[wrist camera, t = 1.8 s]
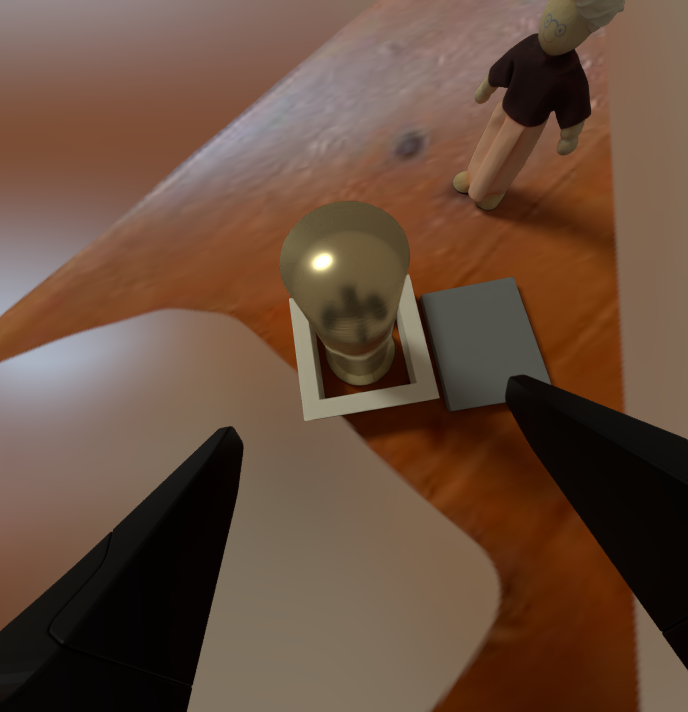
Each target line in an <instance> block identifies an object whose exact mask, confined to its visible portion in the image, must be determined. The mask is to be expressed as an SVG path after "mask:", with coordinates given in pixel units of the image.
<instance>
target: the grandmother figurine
mask: <svg viewBox="0 0 688 712" xmlns="http://www.w3.org/2000/svg"><path fill="white" fill-rule="evenodd" d="M624 3H625V1H624V0H549V2H548V4H547V6H546V8H545V10H544V12H543V15H542V18H541V21H540V26H539V34H533V35H531V36H529V37H527V38H525V39H524V40H522V41H521V42H519V43H518V44H517V45H515V46H514V47H513V48H511V49H510V50H509V51H508V52H507V53H505V54H504V55H503V56H502V57H501V58H500V59H499V60H498V61H497V62H496V63H495V64H494V65H493V66H492V67H491V69H490V71H489V73H488V75H487V76H486V77H485V79H484V81H483V83H482V85H480V86H479V87H478V89H477V90H476V93H475V101H476V102H477V103H479V104H482V103H485V102H486V101H487V100H488V99H489V98H490V96H491V94H492V93H494V92H495V90H496V89H497V88H498V87H504V88H508V89H507V91H506V94H505V96H504V97H503V99H502V100H501V101H500V102H499V103H498V105H497V106H496V108H495V110H494V112H493V114H492V116H491V118H490V121H489V123H488V125H487V127H486V129H485V132H484V134H483V136H482V138H481V140H480V143H479V145H478V147H477V148H476V151H475V153H474V155H473V157H472V159H471V162H470V164H469V167H468V170H467V171H463V172H461V173H459V174H458V175H457V176H456V177H455V178H454V180H453V186H454V187H455V189H456V190H457V191H459V192H462V193H467V192H468V193H469V195H470V197H471V198H472V199H473V200H474V201H475V202H476V204H477V205H478V206H479V207H481V208H482V209H485V210H491V209H494V208H495V207H496V206H497V205H498V204H499V203H500V201H501V200H502V198H503V197H504V195H505V193H506V190H507V189H508V187H509V186H510V184H511V183H512V181H513V180H514V179H515V177H516V176H517V174H518V173H519V172H520V170H521V169H522V167H523V166H524V164H525V162H526V160H527V159H528V157H529V155H530V153H531V152H532V150H533V148H534V147H535V145H536V143H537V141H538V139H539V137H540V135H541V133H542V131H543V129H544V127H545V125H546V123H547V120H548V118H549V115H550V113H551V112H552V111H555V114H556V118H557V121H558V124H559V126H560V129H561V133H560V136H561V139H560V141H559V143H558V146H557V152H558V154H560V155H567V154H569V153H571V152H572V151H574V149H575V148H576V147H577V144H578V135H579V134H580V133H581V131H582V128H583V125H584V122H585V119H586V118H588V117H589V116H590V115H591V105H590V96H589V85H588V81H587V78H586V75H585V73H584V70H583V68H582V66H581V64H580V60H579V57H578V54H577V53H576V51H575V48H576V47H578V46H579V45H580V44H581V43H582V42H583V41H585V39H586V38H587V37H588V36H589V35H590V34H591V33H593V32H595V31H597V30H598V29H599V28H600V27H602V26H605V25H607V24H608V23H609V22H610V21H611V20H612V19H613V18H614V16H615V15H616V14H617V13H618V12H620V11H623V9H624Z"/></svg>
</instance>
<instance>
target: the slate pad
mask: <svg viewBox="0 0 688 712" xmlns="http://www.w3.org/2000/svg"><path fill="white" fill-rule="evenodd" d="M420 302H421V306H422V310H423V314H424V318H425V322H426V326H427V330H428V334H429V338H430V342H431V346H432V350H433V354H434V358H435V362H436V366H437V370H438V373H439V377H440V381H441V385H442V389H443V393H444V397H445V401H446V405H447V409H448V411H455V410H461V409H467V408H473V407H479V406H485V405H491V404H497V403H503V402H506V401H505V393H506V387H507V382H508V379H509V377H511V376H515V375H521V374H524V375H528V376H530V377H533V378H535V379H538V380H540V381H543V382H545V383H548V384H550V385H551V382H550V379H549V376H548V374H547V371H546V368H545V365H544V362H543V359H542V357H541V354H540V351H539V348H538V345H537V342H536V340H535V337H534V334H533V331H532V328H531V325H530V322H529V320H528V317H527V314H526V311H525V308H524V305H523V303H522V300H521V297H520V294H519V291H518V288H517V285H516V283H515V280H514V277H509V278H504V279H499V280H494V281H489V282H484V283H479V284H474V285H469V286H463V287H458V288H453V289H448V290H443V291H438V292H433V293H428V294H423V295H421V297H420Z"/></svg>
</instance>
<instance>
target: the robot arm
mask: <svg viewBox="0 0 688 712" xmlns="http://www.w3.org/2000/svg"><path fill="white" fill-rule="evenodd" d="M505 401H506V403H507V405H508V407H509V409H510V411H511V412H512V414H513V416H514V418H515V420H516V421H517V423H518V425H519V427H520V429H521V430H522V432H523V434H524V436H525V438H526V439H527V441H528V443H529V444H530V446H531V448H532V449H533V451H534V452H535V454H536V455H537V456H538V458H539V459H540V461H541V462H542V464H543V465H544V466H545V468H546V469H547V471H548V472H549V474H550V475H551V476H552V478H553V479H554V481H555V482H556V483H557V485H558V486H559V488H560V489H561V491H562V492H563V493H564V495H565V496H566V498H567V499H568V501H569V502H570V503H571V505H572V506H573V508H574V509H575V510H576V512H577V513H578V515H579V516H580V518H581V519H582V520H583V522H584V523H585V525H586V526H587V527H588V529H589V530H590V532H591V533H592V535H593V536H594V537H595V539H596V540H597V542H598V543H599V545H600V546H601V547H602V549H603V550H604V552H605V553H606V554H607V556H608V557H609V559H610V560H611V562H612V563H613V564H614V566H615V567H616V569H617V570H618V572H619V573H620V574H621V576H622V577H623V579H624V580H625V581H626V583H627V584H628V586H629V587H630V589H631V590H632V591H633V593H634V594H635V596H636V597H637V599H638V600H639V601H640V603H641V604H642V606H643V607H644V608H645V610H646V611H647V613H648V614H649V616H650V617H651V618H652V620H653V621H654V623H655V624H656V625H657V627H658V628H659V630H660V631H662V634H663V636H664V637H665V639H666V640H667V642H668V643H669V644H670V646H671V647H672V649H673V650H674V652H675V653H676V654H677V656H678V657H679V659H680V660H681V662H682V663H683V664H684V666H685V667H686V669H687V670H688V440H687V439H686V438H683V437H681V436H678V435H676V434H673V433H671V432H668V431H666V430H663V429H661V428H658V427H655V426H653V425H651V424H648V423H646V422H643V421H641V420H638V419H635V418H633V417H631V416H628V415H626V414H623V413H621V412H618V411H615V410H613V409H610V408H608V407H605V406H603V405H600V404H598V403H595V402H593V401H590V400H588V399H585V398H583V397H580V396H578V395H575V394H573V393H570V392H568V391H565V390H563V389H560V388H558V387H555V386H553V385H550V384H548V383H545V382H543V381H540V380H538V379H535V378H533V377H530V376H528V375H524V374H521V375H515V376H511V377H509V379H508V382H507V387H506V393H505ZM243 449H244V448H243V442H242V440H241V439H240V437H239V435H238V434H237V432H236V430H235V429H234V428H233V427H231V426H229V427H224V428H220V429H218V430H217V431H216V432H215V433H214V434H213V435H212V436H211V437H210V438H209V439H208V440H207V441H205V442H204V443H203V444H202V445H201V446H200V447H199V448H198V449H197V450H196V451H195V452H194V453H193V454H192V455H191V456H190V457H189V458H188V459H187V460H186V461H184V462H183V463H182V464H181V465H180V466H179V467H178V468H177V469H176V470H175V471H174V472H173V473H172V474H171V475H170V476H169V477H168V478H167V479H166V480H165V481H163V482H162V483H161V484H160V485H159V486H158V487H157V488H156V489H155V490H154V491H153V492H152V493H151V494H150V495H149V496H148V497H147V498H146V499H145V500H143V502H141V503H140V504H139V505H138V506H137V507H136V508H135V509H134V510H133V511H132V512H131V513H130V514H129V515H128V516H127V517H126V518H125V519H124V520H122V521H121V522H120V524H118V525H117V526H116V527H115V528H114V529H113V532H110V533H109V534H108V535H107V536H106V537H105V538H104V539H103V540H101V541H100V542H99V543H98V544H97V545H96V546H95V547H94V548H93V549H92V550H91V551H90V552H89V553H88V554H87V555H85V557H83V558H82V559H81V560H80V561H79V562H78V563H77V564H76V565H75V566H74V567H73V568H71V569H70V570H69V571H68V572H67V573H66V574H65V575H64V576H62V578H60V579H59V580H58V581H57V582H56V583H55V584H53V585H52V586H51V587H50V588H49V589H48V590H47V591H46V592H44V593H43V594H42V595H41V596H40V597H39V598H38V599H36V600H35V601H34V602H33V603H32V604H31V605H30V606H28V607H27V608H26V609H25V610H24V611H23V612H22V613H20V614H19V615H18V616H17V617H16V618H15V619H13V620H12V621H11V622H10V623H9V624H8V625H7V626H5V627H4V628H3V629H2V630H1V631H0V712H187V708H188V704H189V700H190V695H191V691H192V687H191V686H192V685H193V681H194V677H195V673H196V669H197V665H198V661H199V656H200V652H201V648H202V644H203V639H204V635H205V630H206V626H207V622H208V618H209V614H210V609H211V605H212V601H213V597H214V593H215V588H216V584H217V580H218V575H219V571H220V567H221V562H222V559H223V554H224V550H225V545H226V542H227V537H228V533H229V529H230V525H231V520H232V516H233V511H234V507H235V503H236V499H237V494H238V488H239V481H240V472H241V465H242V457H243Z"/></svg>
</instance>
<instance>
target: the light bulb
mask: <svg viewBox="0 0 688 712" xmlns="http://www.w3.org/2000/svg"><path fill="white" fill-rule="evenodd" d="M409 261H410V250H409V244H408V241H407V238H406V235H405V233H404V231H403V229H402V228H401V226H400V225H399V224H398V222H397V221H396V220H395V219H394V218H393V217H392V216H391V215H389V214H388V213H387V212H385V211H384V210H382V209H380V208H378V207H376V206H373V205H370V204H367V203H363V202H357V201H341V202H335V203H331V204H327V205H324V206H322V207H319V208H317V209H315V210H313V211H311V212H310V213H308V214H307V215H306V216H304V217H303V218H302V219H301V220H300V221H298V222H297V224H296V225H295V226H294V227H293V228H292V230H291V231H290V232H289V234H288V236H287V237H286V239H285V241H284V244H283V247H282V250H281V255H280V272H281V277H282V280H283V283H284V285H285V287H286V289H287V291H288V292H289V294H290V295H291V297H292V298H293V300H294V301H295V303H296V304H297V306H298V307H299V308H300V310H301V311H302V313H303V314H304V316H305V317H306V319H307V320H308V322H309V323H310V325H311V326H312V328H313V329H314V330H315V332H316V333H317V335H318V336H319V338H320V339H321V341H322V342H323V344H324V345H325V347H326V358H327V361H328V364H329V366H330V368H331V370H332V371H333V372H334V373H335V374H336V375H337V377H339V378H340V379H341V380H343V381H344V382H346V383H348V384H351V385H356V386H364V385H370V384H373V383H375V382H377V381H379V380H380V379H381V378H383V377H384V376H385V375H386V373H387V372H388V371H389V369H390V367H391V365H392V362H393V359H394V355H395V346H394V342H393V339H392V336H391V334H392V330H393V326H394V323H395V319H396V315H397V311H398V307H399V303H400V299H401V295H402V291H403V287H404V283H405V279H406V275H407V272H408V268H409Z"/></svg>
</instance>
